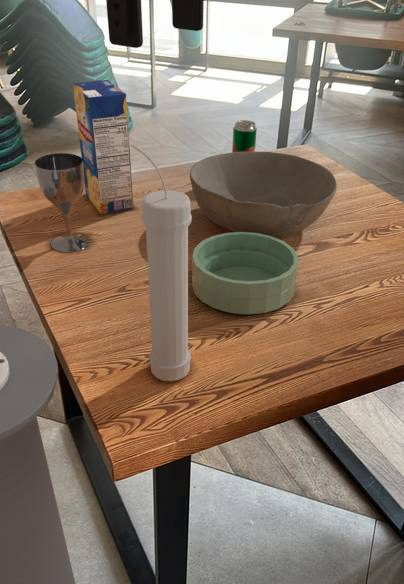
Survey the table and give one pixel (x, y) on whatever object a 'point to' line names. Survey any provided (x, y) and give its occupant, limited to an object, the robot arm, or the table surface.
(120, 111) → the cereal box
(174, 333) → the pipe
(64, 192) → the wine glass
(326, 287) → the table surface
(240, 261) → the green round dish
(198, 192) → the bowl
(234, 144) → the soda can
